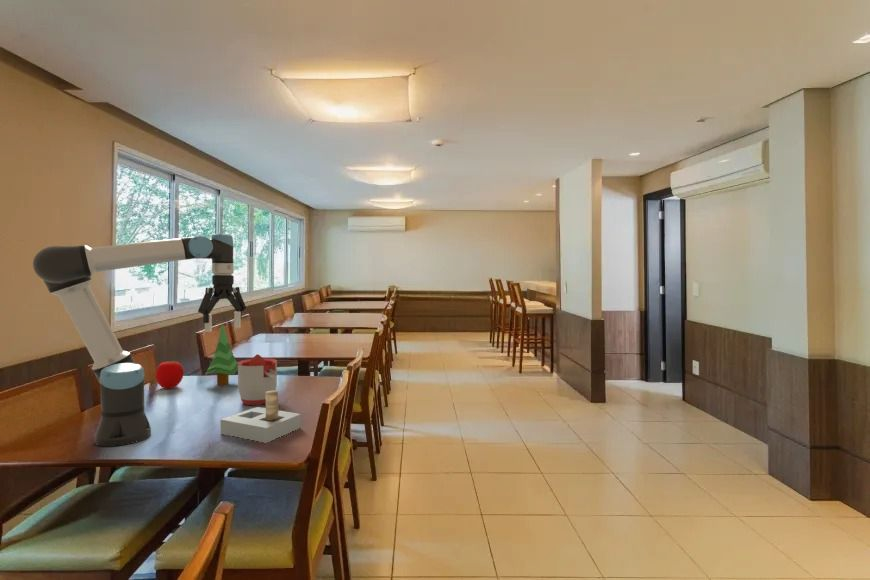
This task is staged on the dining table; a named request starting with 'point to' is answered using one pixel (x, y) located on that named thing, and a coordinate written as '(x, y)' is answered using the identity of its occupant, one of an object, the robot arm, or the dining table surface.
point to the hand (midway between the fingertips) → (223, 329)
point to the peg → (272, 406)
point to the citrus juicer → (256, 379)
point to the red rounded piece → (169, 374)
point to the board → (260, 425)
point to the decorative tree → (223, 360)
